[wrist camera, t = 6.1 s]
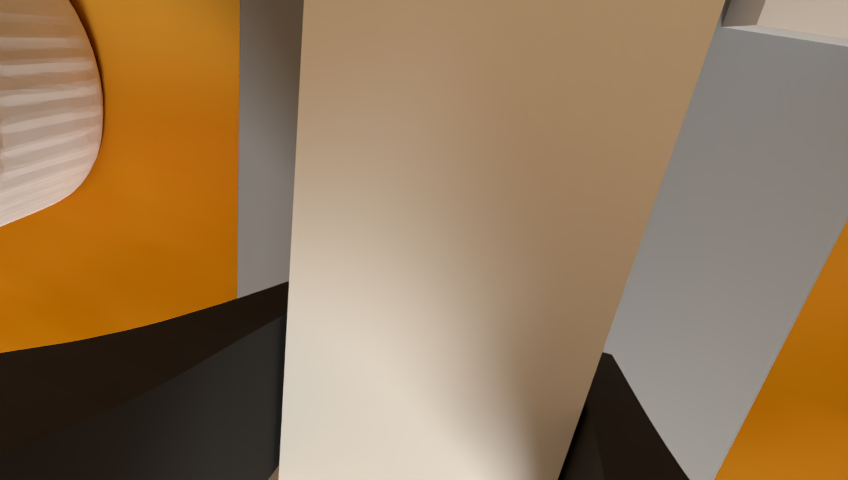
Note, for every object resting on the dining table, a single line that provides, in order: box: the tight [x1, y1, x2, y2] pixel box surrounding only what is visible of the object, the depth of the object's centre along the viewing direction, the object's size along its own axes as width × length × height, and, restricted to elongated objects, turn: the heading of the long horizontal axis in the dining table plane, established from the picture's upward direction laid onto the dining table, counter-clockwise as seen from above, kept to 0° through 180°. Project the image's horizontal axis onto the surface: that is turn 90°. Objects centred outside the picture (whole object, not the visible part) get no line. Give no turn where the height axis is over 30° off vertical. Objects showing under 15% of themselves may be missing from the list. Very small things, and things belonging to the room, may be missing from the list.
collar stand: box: [237, 0, 848, 480], centre depth 11 cm, size 24×12×4 cm, turn 171°
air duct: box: [279, 0, 725, 480], centre depth 9 cm, size 21×4×4 cm, turn 171°
